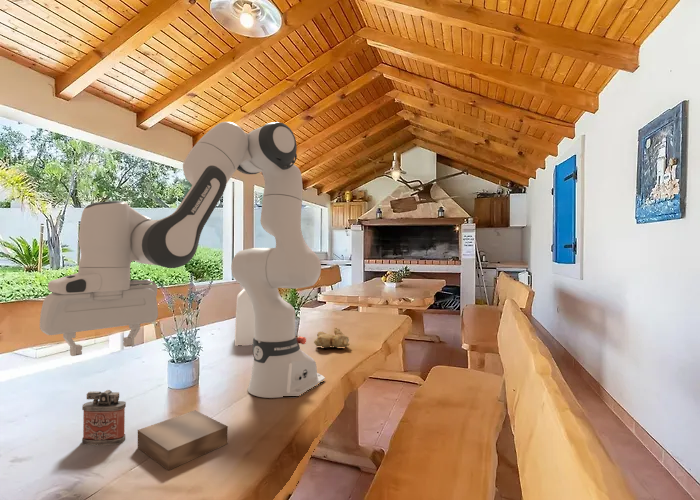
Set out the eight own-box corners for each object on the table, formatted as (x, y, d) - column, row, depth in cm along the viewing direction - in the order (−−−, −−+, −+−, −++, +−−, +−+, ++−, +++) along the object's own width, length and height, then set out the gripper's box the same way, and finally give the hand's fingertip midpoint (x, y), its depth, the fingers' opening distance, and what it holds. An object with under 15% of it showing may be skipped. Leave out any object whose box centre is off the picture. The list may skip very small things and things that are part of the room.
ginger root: (346, 351, 143) (341, 329, 144) (307, 357, 148) (303, 336, 149) (358, 343, 158) (354, 323, 159) (323, 348, 163) (319, 329, 164)
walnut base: (195, 426, 85) (195, 410, 85) (227, 443, 78) (227, 426, 78) (137, 447, 76) (137, 430, 76) (168, 470, 69) (168, 450, 69)
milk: (234, 338, 165) (235, 277, 165) (262, 337, 169) (263, 277, 169) (235, 345, 154) (236, 279, 154) (265, 344, 157) (265, 279, 157)
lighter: (128, 436, 80) (129, 388, 80) (119, 445, 77) (120, 394, 77) (88, 436, 80) (89, 388, 80) (77, 445, 77) (78, 394, 77)
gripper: (150, 278, 88) (149, 339, 88) (37, 282, 72) (36, 357, 72) (164, 279, 85) (162, 343, 84) (48, 285, 68) (46, 364, 68)
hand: (103, 350), depth 78 cm, fingers open, 8 cm apart
